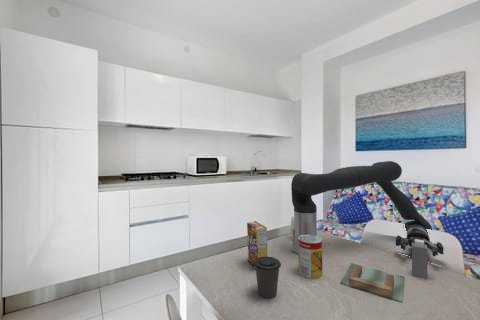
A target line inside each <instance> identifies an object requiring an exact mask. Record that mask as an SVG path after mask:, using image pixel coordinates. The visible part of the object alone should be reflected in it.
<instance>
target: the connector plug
mask: <svg viewBox="0 0 480 320" xmlns="http://www.w3.org/2000/svg"><path fill="white" fill-rule="evenodd" d="M427 249H428V248H427V245H424V240H418V239H415V243H412V248H411V276H412V277H416V278H419V279H424V280H428V251H427Z"/></svg>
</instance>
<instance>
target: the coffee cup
mask: <svg viewBox="0 0 480 320" xmlns="http://www.w3.org/2000/svg"><path fill="white" fill-rule="evenodd" d="M254 266H255V267H254ZM254 266H253V267H254V268H255V269H254V270H255V277H256V284H257V285H256V286H257V291H258V295H260V296H259V297H261V298H262V299H265V300H266V299H267V300H270V299H274V298H276V296H277V293H278V292H277V291H278V282H279V275H280V274H279V273H280V268H281V266H282V263H281V261H280V260H279V259H277V258H275V257H273V256H268V257H259V258H257V259H256V260H255V261H254Z"/></svg>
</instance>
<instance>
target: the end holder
mask: <svg viewBox="0 0 480 320" xmlns="http://www.w3.org/2000/svg"><path fill="white" fill-rule="evenodd" d="M339 283H340V284H341V285H344V286H347V287H350V288H354V289H357V290H360V291H364V292H367V293H369V294H373V295H377V296H379V297H382V298H386V299H389V300H393V301H395V302H397V303H398V302H399V303H403V299H404V287H405V276H404V275H399V274H397V273H392V272H388V271H384V270H380V269H376V268H372V267H368V266H364V265H360V264H357V263H356V264H355V263H350V265H349V266H348V267H347V270H346V271H345V273H344V275H343V276H342V279H341V280H340V282H339Z"/></svg>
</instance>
